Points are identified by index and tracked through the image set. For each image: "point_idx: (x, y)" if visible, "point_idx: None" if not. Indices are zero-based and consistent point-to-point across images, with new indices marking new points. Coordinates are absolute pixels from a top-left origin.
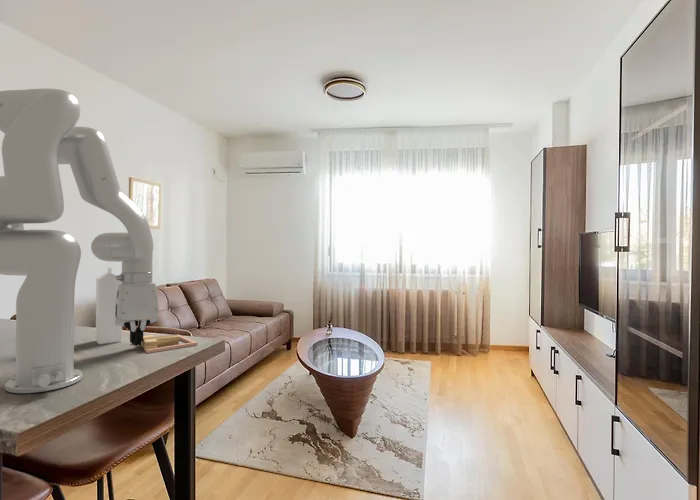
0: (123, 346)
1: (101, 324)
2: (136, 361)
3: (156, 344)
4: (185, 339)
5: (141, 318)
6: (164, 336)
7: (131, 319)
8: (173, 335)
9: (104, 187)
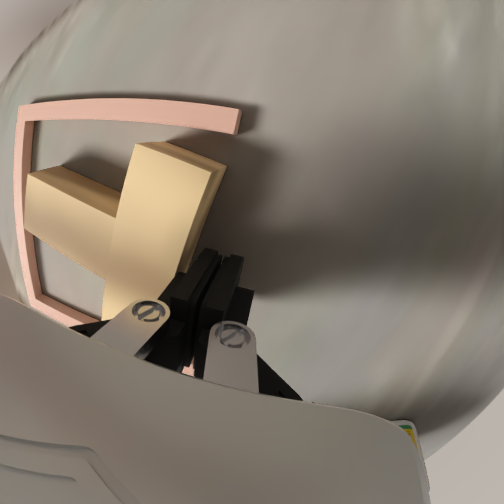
0: None
1: None
2: (373, 18)
3: (152, 144)
4: (22, 204)
5: (117, 360)
6: (66, 240)
7: (276, 409)
8: (35, 222)
9: None
